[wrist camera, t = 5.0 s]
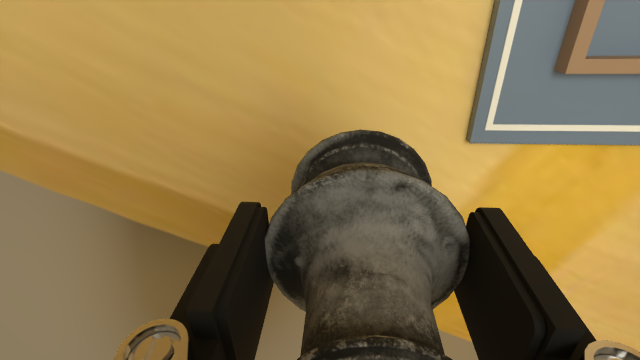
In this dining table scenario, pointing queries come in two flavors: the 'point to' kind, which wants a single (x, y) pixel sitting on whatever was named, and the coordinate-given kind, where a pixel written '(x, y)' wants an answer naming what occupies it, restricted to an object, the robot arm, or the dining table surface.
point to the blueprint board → (560, 74)
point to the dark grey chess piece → (367, 250)
